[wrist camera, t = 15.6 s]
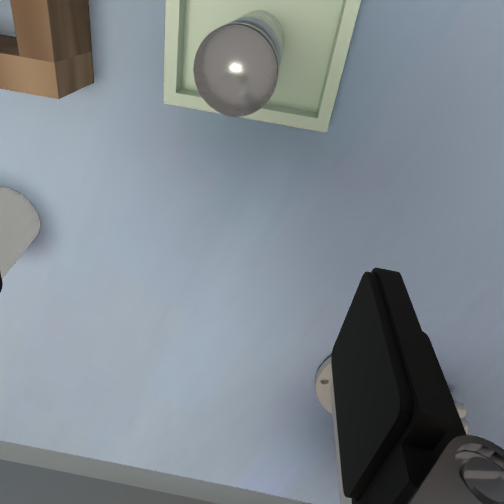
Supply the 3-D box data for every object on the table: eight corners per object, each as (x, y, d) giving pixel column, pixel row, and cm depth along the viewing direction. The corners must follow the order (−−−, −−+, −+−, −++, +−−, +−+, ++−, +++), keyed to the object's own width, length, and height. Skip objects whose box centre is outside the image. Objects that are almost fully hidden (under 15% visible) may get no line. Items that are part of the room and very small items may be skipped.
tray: (363, -31, 23) (369, -32, 21) (324, 124, 28) (326, 132, 26) (176, -66, 23) (167, -70, 21) (171, 96, 28) (163, 103, 26)
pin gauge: (288, 15, 24) (285, 33, 14) (279, 72, 26) (269, 123, 16) (236, 5, 24) (196, 16, 14) (230, 63, 26) (190, 109, 16)
